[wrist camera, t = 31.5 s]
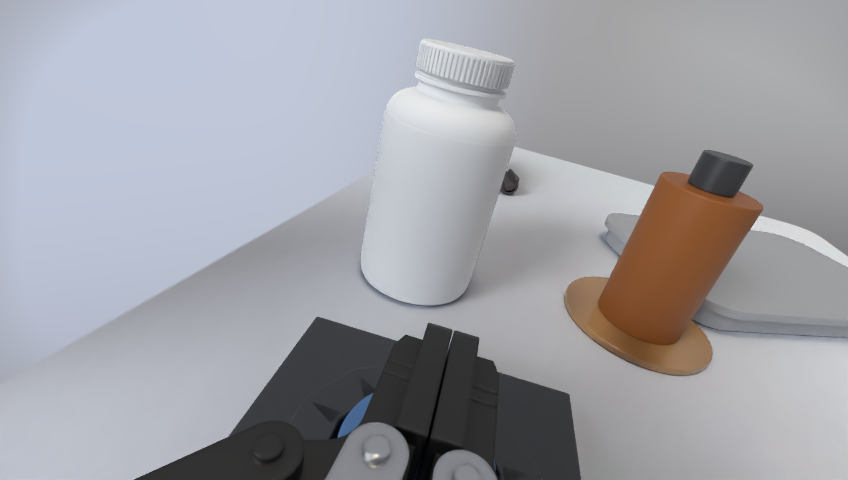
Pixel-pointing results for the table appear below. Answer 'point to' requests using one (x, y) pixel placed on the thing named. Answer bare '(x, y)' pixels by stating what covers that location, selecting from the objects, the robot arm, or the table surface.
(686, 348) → the coaster
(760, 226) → the table surface
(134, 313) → the table surface
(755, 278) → the tablet
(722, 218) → the bottle
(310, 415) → the dark grey button base
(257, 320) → the table surface
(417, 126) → the pill bottle
